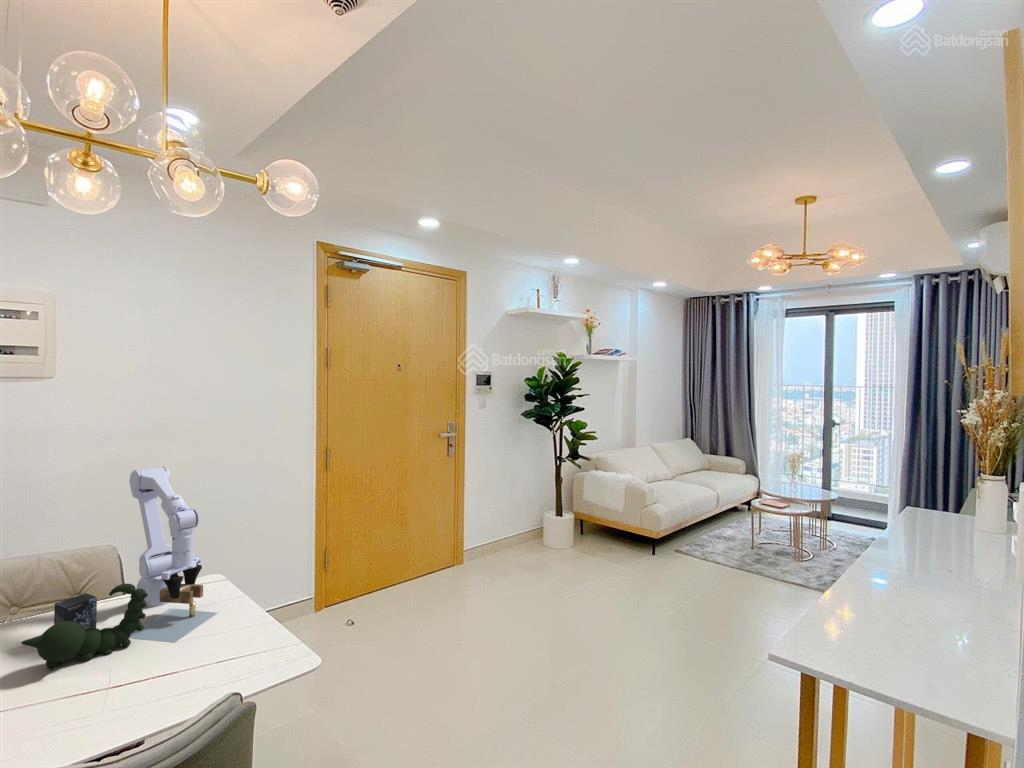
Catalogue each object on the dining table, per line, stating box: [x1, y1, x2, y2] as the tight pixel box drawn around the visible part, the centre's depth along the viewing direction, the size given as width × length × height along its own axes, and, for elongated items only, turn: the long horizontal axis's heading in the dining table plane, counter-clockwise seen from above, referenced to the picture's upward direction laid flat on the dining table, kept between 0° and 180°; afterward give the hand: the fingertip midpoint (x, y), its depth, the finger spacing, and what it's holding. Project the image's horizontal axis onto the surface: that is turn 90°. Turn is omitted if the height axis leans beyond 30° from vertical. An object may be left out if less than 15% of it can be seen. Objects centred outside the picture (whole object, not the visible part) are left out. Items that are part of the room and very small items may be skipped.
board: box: [129, 607, 218, 644], centre depth 155 cm, size 16×18×1 cm
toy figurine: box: [21, 583, 148, 671], centre depth 136 cm, size 9×19×25 cm
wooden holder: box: [160, 583, 204, 605], centre depth 160 cm, size 10×6×4 cm, turn 84°
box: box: [53, 592, 98, 629], centre depth 147 cm, size 8×6×11 cm
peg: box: [188, 601, 197, 618], centre depth 159 cm, size 2×2×4 cm
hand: (182, 593), depth 160 cm, fingers closed on wooden holder, 5 cm apart
